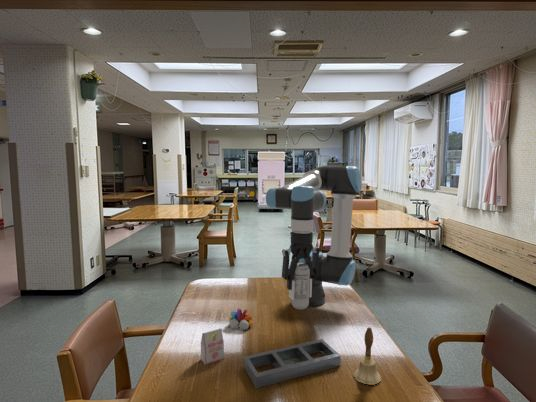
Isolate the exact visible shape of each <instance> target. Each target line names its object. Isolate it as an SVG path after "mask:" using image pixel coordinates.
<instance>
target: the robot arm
mask: <svg viewBox="0 0 536 402" xmlns="http://www.w3.org/2000/svg"><path fill="white" fill-rule="evenodd" d="M362 181H363V180H362V175H361V171H360V169H359V168H358V167H357V166H354V165H323V166H318V167H316V168H315V167H314V168H313V169H309V170H308V171H306V172H304V174H302V176H301V177H299V178H297V179H295V180H294V181H292V182H290V183H288V184H286V185H285V186H282V187H279V188H277V187H273V188H268V189H267V191H266V192H265V193H266V194H265V203H266V205H267V206H268V207H269V208H274V209H283V210H291V211H290V230H291V231H290V246H289V248H287V249H282V251H281V254H282V256H283V257H282V265H281V266H282V269H281V278H283V279H284V280H285V281H286V289H287V290H288V298H290V299H291V301H292V300H294V290H295V281H294V280H293V277H294V273H295V270H296V267H297V264H298V262H303V263H306V264H308V267H309V269H310V279H309V305H308V306H307V307H316V306H317V307H318V306H321V305H324V304H325V303H326V294H325V290H324V287H323V283H327V284H335V285H338V286H345V287H346V286H350V285H351V283H352V282H353V280H354V277H355V274H356V270H357V262H356V260H354V259H353V255H352V253H351V252H350V251H351V250H350V248H351V247H350V245H351V235H352V219H353V207H354V205H353V204H354V199H355V198H356V197H358V196H357V195H358V193H360V192H361V191H362V185H363V182H362ZM324 191H330V195H331V196H332V198H333V206H332V207H333V209H332V219H331V220H332V222H331V224H332V225H331V235H330V236H331V237H330V249H329V251H328V252H326V256H324V254H323V252H321V248H319V247H318V246H313V242H314V241H313V239H314V233H313V231H314V212H317V211H320V210H321V209H322V208H324V207H325V205H326V204H327V195H326V194H325V193H324ZM291 254H292V256H291ZM290 256H291V262H290Z"/></svg>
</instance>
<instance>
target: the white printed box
mask: <svg viewBox="0 0 536 402" xmlns="http://www.w3.org/2000/svg"><path fill="white" fill-rule="evenodd" d="M200 339H201V340H200V360H201V362H203V365H205V366H206V365H209V364H212V363H215V362H219V361H221V360H224V359H225V343H224V342H225V341H224V337H223V329H222V328H218V329H213V330H210V331H206V332H202V335H201V338H200Z"/></svg>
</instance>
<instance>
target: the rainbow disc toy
mask: <svg viewBox="0 0 536 402" xmlns="http://www.w3.org/2000/svg"><path fill="white" fill-rule="evenodd" d="M247 312H248V309H247V308H246V309H244V311H243V310H242V309H241V308H237V310H236V311H235V310H233V311H231V313H230V314H231V317H229V320H228V321H229V322H228V325H229V328H230V329H232V330H236V329H238V328H239V329H240V330H242V331H246V330H248V329H249V327H250V326H252V325H253V323H254V322H253V315H252V314H251V313H247Z"/></svg>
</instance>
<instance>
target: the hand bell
mask: <svg viewBox="0 0 536 402" xmlns="http://www.w3.org/2000/svg"><path fill="white" fill-rule="evenodd" d="M373 344H374V334H373V329H372V327H369V326H368V327H367V329H366V330H365V332H364V345H365V354H364V355H365V356H364V357H361V359H360V361H359V366H358V368H357V369H356V370H355V371H354V373H353V378H354V377H355V378H354V380H355V381H356V382H358V381H359V382H361V383H364V384H377V383H379V382H380V381H381V382H382V376H381V375H380V373H379V372H378V371H377V367H376V361H375V360H374V359H373V358H372V346H373ZM359 382H358V383H359ZM381 382H380V383H381ZM361 383H360V384H361ZM380 383H379V384H380ZM364 384H363V385H364ZM377 385H378V384H377Z"/></svg>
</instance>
